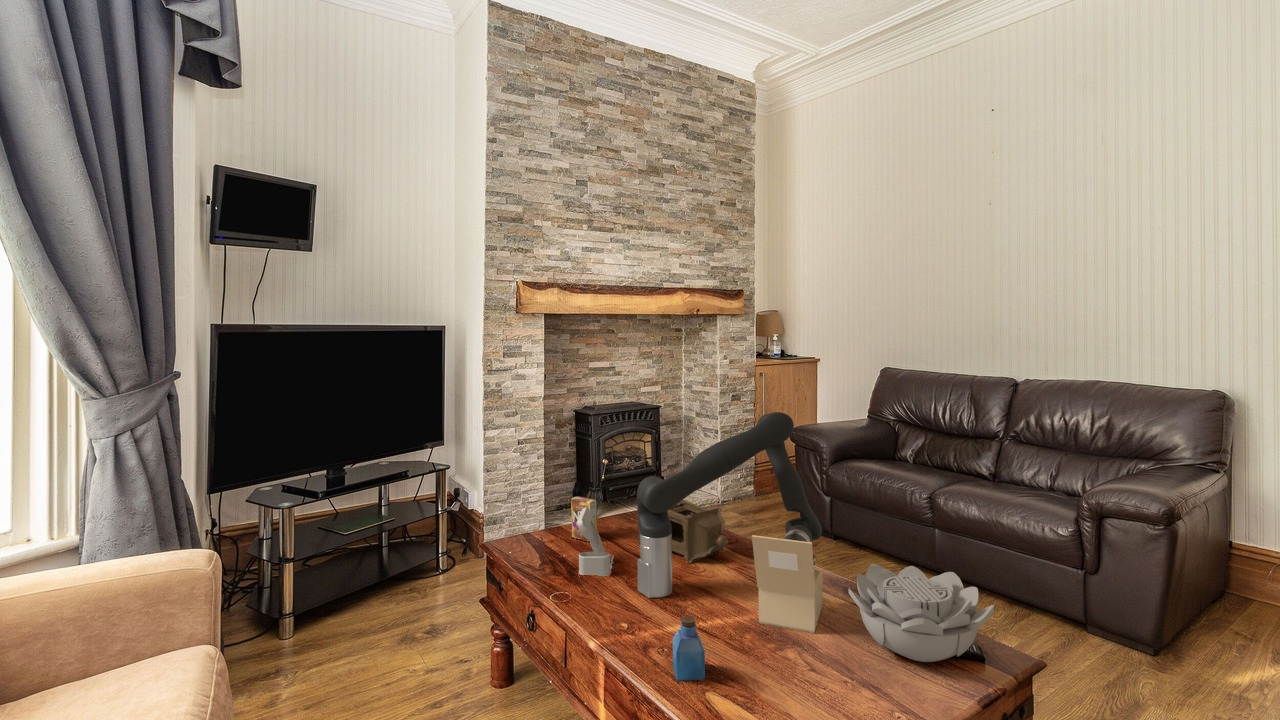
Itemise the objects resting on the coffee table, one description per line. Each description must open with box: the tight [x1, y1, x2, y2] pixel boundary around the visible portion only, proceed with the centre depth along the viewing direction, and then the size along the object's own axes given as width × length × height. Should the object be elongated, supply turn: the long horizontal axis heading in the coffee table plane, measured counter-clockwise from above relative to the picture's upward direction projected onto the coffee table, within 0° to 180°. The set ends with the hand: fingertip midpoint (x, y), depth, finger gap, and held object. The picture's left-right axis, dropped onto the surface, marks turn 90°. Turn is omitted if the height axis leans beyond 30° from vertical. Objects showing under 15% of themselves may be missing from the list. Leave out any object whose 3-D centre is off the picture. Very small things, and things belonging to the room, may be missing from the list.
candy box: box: [570, 495, 598, 541], centre depth 221 cm, size 9×4×15 cm, turn 57°
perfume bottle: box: [672, 615, 706, 681], centre depth 135 cm, size 6×6×12 cm
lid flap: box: [751, 534, 815, 596], centre depth 150 cm, size 16×14×1 cm
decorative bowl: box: [848, 563, 995, 663], centre depth 143 cm, size 30×30×15 cm
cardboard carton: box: [758, 569, 823, 634], centre depth 162 cm, size 16×14×10 cm
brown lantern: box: [637, 499, 729, 565], centre depth 208 cm, size 35×18×18 cm, turn 40°
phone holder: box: [577, 507, 615, 576], centre depth 196 cm, size 17×10×18 cm, turn 178°
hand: (785, 568), depth 151 cm, fingers closed
